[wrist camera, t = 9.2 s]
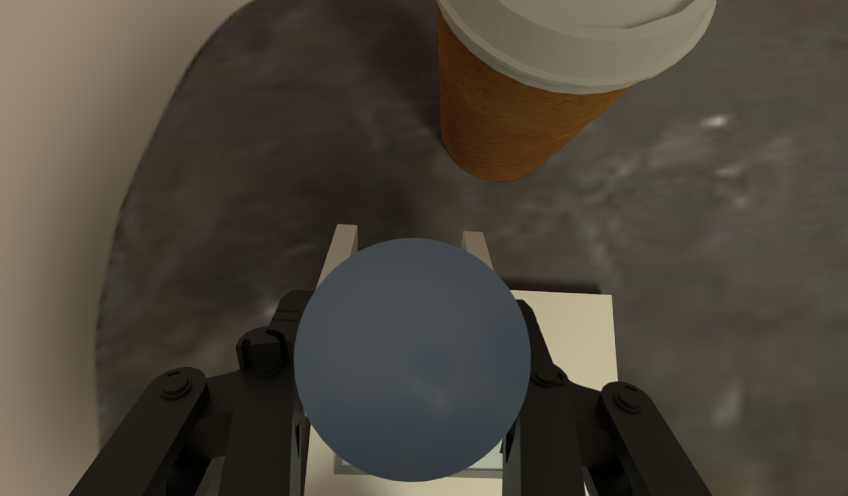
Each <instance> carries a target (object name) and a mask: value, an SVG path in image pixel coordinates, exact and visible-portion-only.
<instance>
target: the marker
mask: <svg viewBox="0 0 848 496" xmlns="http://www.w3.org/2000/svg"><path fill="white" fill-rule="evenodd" d="M530 367H531V352H530V341H529V336H528V331H527V326H526V323H525V320H524V317H523V315H522V312H521V310H520V308H519V305H518V303H517V301H516V299H515V297H514V296H513V294H512V293H511V291H510V290H509V288H508V287H507V285H506V284H505V283H504V282H503V280H502V279H501V278H500V277H499V276H498V275H497V274H496V273H495V272H494V271H493V270H492V269H491V268H490V267H489V266H488V265H487V264H486V263H484V262H483V261H481V260H480V259H479V258H477V257H476V256H474V255H472V254H471V253H469V252H467V251H465V250H463V249H461V248H459V247H456V246H454V245H451V244H449V243H445V242H441V241H437V240H432V239H424V238H402V239H394V240H389V241H385V242H381V243H377V244H375V245H372V246H370V247H367V248H365V249H362V250H361V251H359V252H357V253H355V254H353V255H352V256H350V257H349V258H347V259H346V260H345V261H343V262H342V263H340V264H339V265H338V266H337V267H336V268H335V269H334V270H333V271H331V272H330V273H329V274H328V275H327V276H326V278H325V279H324V280H323V281H322V282H321V284H320V285H319V286H318V287H317V289H316V290H315V292H314V294H313V295H312V297H311V298H310V300H309V302H308V304H307V306H306V308H305V311H304V313H303V315H302V318H301V321H300V324H299V327H298V331H297V336H296V342H295V350H294V371H295V381H296V385H297V390H298V395H299V398H300V400H301V403H302V406H303V409H304V411H305V413H306V415H307V417H308V419H309V421H310V423H311V425H312V426H313V428H314V429H315V431H316V432H317V433H318V435H319V436H320V438H321V439H322V440H323V441H324V442H325V443H326V444H327V445H328V447H329V448H330V449H331V450H332V451H333V452H335V453H336V454H337V455H338V456H339V457H341V458H342V459H343V460H344V461H346V462H347V463H349V464H351V465H352V466H354V467H356V468H357V469H359V470H361V471H363V472H366V473H368V474H371V475H373V476H376V477H380V478H384V479H388V480H392V481H401V482H426V481H431V480H436V479H441V478H444V477H447V476H450V475H453V474H456V473H458V472H460V471H462V470H464V469H466V468H468V467H470V466H472V465H473V464H475V463H476V462H478V461H479V460H480V459H482V458H483V457H485V456H486V455H487V454H488V453H489V452H490V451H491V450H492V449H493V448H495V447H496V446H497V445H498V444H499V442H500V441H501V440H502V439H503V437H504V436H505V435H506V434H507V433H508V431H509V429H510V428H511V426H512V425H513V423H514V421H515V420H516V418H517V416H518V414H519V411H520V409H521V407H522V405H523V402H524V399H525V395H526V392H527V389H528V383H529V377H530Z"/></svg>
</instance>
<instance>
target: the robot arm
mask: <svg viewBox="0 0 848 496" xmlns="http://www.w3.org/2000/svg"><path fill="white" fill-rule="evenodd" d="M461 249H463V250H465V251H467V252H469V253H471V254H472V255H474V256H476V257H477V258H479V259H480V260H481V261H483V262H484V263H486V264H487V265H488V266H489V267H490V268H491V269H492V270H493V266H492V263H491V259H490V256H489V252H488V249H487V246H486V242H485V239H484V235H483V232H472V231H463V236H462V244H461ZM357 252H358V225H344V224H337V227H336V230H335V233H334V236H333V239H332V242H331V245H330V248H329V251H328V254H327V257H326V260H325V263H324V266H323V269H322V272H321V275H320V278H319V281H318V284H317V287H318V286H319V285H320V284H321V282H322V281H323V280H324V279H325V278H326V276H327V275H328V274H329V273H330V272H331V271H333V270H334V269H335V268H336V267H337V266H338V265H339V264H340V263H342V262H343V261H345V260H346V259H347V258H349V257H350V256H352V255H353V254H355V253H357ZM493 271H494V270H493ZM317 287H316V289H317ZM314 292H315V291H305V290H291V291H290V292H289V293H287V294H286V295H285V296H284V297H283V298H282V299H281V300H280V302H279V305H278V307H277V309H276V312H275V314H274V316H273V318H272V321H271V323H270V325H269V326H266V327H261V328H256V329H254V330H252V331H250V332H247V333H246V334H245V335H243V336H242V337H241V338H240V339H239V341H238V343H237V345H236V351H237V356H238V361H239V366H240V369H239V370H237V371H235V372H232V373H229V374H225V375H220V376H215V377H210V378H206V377H205V374H204V373H203V372H202V371H200V370H199V369H196V368H192V367H183V368H176V369H173V370H170V371H167V372H165V373H164V374H162V375H160V376H159V377H157V378H156V379H155V380H154V381H153V382H152V383H151V384H150V385H149V386H148V387H147V388H146V390H145V391H144V393H143V394H142V395H141V397H140V398H139V399H138V401H137V402H136V404H135V405H134V406H133V408H132V409H131V410H130V412H129V413H128V415H127V416H126V417H125V419H124V420H123V421H122V423H121V424H120V426H119V427H118V428H117V430H116V431H115V432H114V434H113V435H112V437H111V438H110V439H109V441H108V442H107V443H106V445H105V446H104V448H103V449H102V450H101V452H100V453H99V455H98V456H97V457H96V459H95V460H94V461H93V463H92V464H91V466H90V467H89V468H88V470H87V471H86V472H85V474H84V475H83V477H82V478H81V479H80V481H79V482H78V483H77V485H76V486H75V488H74V489H73V490H72V492H71V493H70V494H69V496H204V494H205V492H206V489H207V487H208V485H209V483H210V481H211V479H212V476H213V474H214V472H215V470H216V468H217V465H218V463H219V461H220V459H221V457H222V456H224V455H225V460H224V466H223V472H222V478H221V483H220V489H219V495H218V496H300V480H301V424H300V418H301V414H302V410H303V406H302V403H301V400H300V398H299V395H298V390H297V385H296V381H295V371H294V350H295V342H296V336H297V331H298V327H299V324H300V321H301V318H302V315H303V313H304V311H305V308H306V306H307V304H308V302H309V300H310V298H311V297H312V295H313V294H314ZM516 301H517V303H518V305H519V308H520V310H521V312H522V315H523V317H524V320H525V323H526V326H527V331H528V336H529V341H530V352H531V367H530V377H529V383H528V389H527V392H526V395H525V399H524V402H523V405H522V407H521V409H520V411H519V414H518V416H517V418H516V420H515V421H514V423H513V425H512V426H511V428H510V429H509V431H508V433H507V434H506V435H505V436H504V437H503V440H502V444H501V448H500V452H499V453H501V454H503V473H502V496H586V493H585V486H586V489H587V491H588V494H589V496H712V495H711V493H710V492H709V490H708V488H707V487H706V485H705V484H704V482H703V481H702V479H701V477H700V476H699V474H698V473H697V471H696V469H695V468H694V466H693V465H692V463H691V461H690V460H689V458H688V457H687V455H686V454H685V452H684V450H683V449H682V447H681V446H680V444H679V442H678V441H677V439H676V438H675V436H674V434H673V433H672V431H671V430H670V428H669V427H668V425H667V423H666V422H665V420H664V419H663V417H662V415H661V414H660V412H659V411H658V409H657V408H656V406H655V404H654V403H653V401H652V400H651V399H650V398H649V397H648V395H647V394H646V393H644V392H643V391H642V390H640V389H639V388H637V387H635V386H633V385H631V384H628V383H625V382H618V381H615V382H609V383H607V384H606V385H605V386H603V388H602V390H601V391H598V390H595V389H591V388H588V387H584V386H581V385H578V384H576V383H573V382H572V381H570V380H569V379H568V376H567V374H566V373H565V372H564V371H563V370H562V369H561V368H560V367H558V366H557V365H555V364H553V361H552V358H551V356H550V353H549V350H548V348H547V345H546V343H545V340H544V337H543V335H542V332H541V331H540V327H539V324H538V322H537V319H536V316H535V314H534V311H533V309H532V308H531V307H530V306H529V305H528V304H527V303H526V302H525V301H524V300H522V299H516ZM304 412H305V411H304ZM305 417H307V415H306V413H305ZM584 483H585V486H584Z"/></svg>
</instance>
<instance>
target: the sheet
mask: <svg viewBox="0 0 848 496" xmlns="http://www.w3.org/2000/svg"><path fill="white" fill-rule="evenodd" d="M510 291H511V293H512V294H513V296H514V297H515V299H522V300H524V301H525V302H526V303H527V304H528V305H529V306H530V307H531V308H532V309H533V311H534V314H535V316H536V319H537V322H538V324H539V327H540V331H541V332H542V335H543V337H544V340H545V343H546V345H547V348H548V350H549V353H550V356H551V358H552V361H553V364H555V365H557V366H558V367H560V368H561V369H562V370H563V371H564V372H565V373H566V374H567V376H568V379H569V380H570V381H572V382H573V383H576V384H578V385H581V386H584V387H588V388H591V389H595V390H598V391H601V390H602V388H603V386H605V385H606V384H607V383H609V382H615V381H618V379H617V365H616V351H615V338H614V324H613V310H612V296H611V295H598V294H578V293H558V292H538V291H518V290H510ZM502 440H503V439H502ZM502 440H501V441H500V442H499V444H498V445H497V446H496V447H495V448H493V449H492V450H491V451H490V452H489V453H488V454H487V455H486V456H485V457H483V458H482V459H480V460H479V461H478V462H476V463H475V464H473V465H472V466H470V467H468V468H466V469H464V470H462V471H460V472H458V473H456V474H453V475H450V476H447V477H444V478H441V479H436V480H431V481H426V482H401V481H392V480H388V479H384V478H380V477H376V476H373V475H371V474H368V473H366V472H363V471H361V470H359V469H357V468H356V467H354V466H352V465H351V464H349V463H347V462H346V461H344V460H343V459H342V458H341V457H339V456H338V455H337V454H336V453H335V452H333V451H332V450H331V449H330V448H329V447H328V445H327V444H326V443H325V442H324V441H323V440H322V439H321V438H320V436H319V435H318V433H317V432H316V431H315V429H314V428H313V426H312V425H311V429H310V439H309V449H308V459H307V470H306V480H305V490H304V496H502V473H503V454H501V453H499V452H500V448H501V444H502ZM584 486H585V483H584ZM585 493H586V496H589V494H588V491H587V489H586V486H585Z"/></svg>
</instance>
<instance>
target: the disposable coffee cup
mask: <svg viewBox="0 0 848 496" xmlns="http://www.w3.org/2000/svg"><path fill="white" fill-rule="evenodd" d="M715 5H716V0H437V27H438V62H439V92H440V125H441V134H442V139H443V142H444V145H445V147H446V149H447V151H448V153H449V154H450V156H451V157H452V158H453V159H454V161H455V162H456V163H457V164H458V165H459V166H460V167H462V168H463V169H464V170H465V171H467V172H469V173H471V174H472V175H474V176H476V177H479V178H482V179H486V180H490V181H498V182H500V181H512V180H515V179H519V178H522V177H524V176H526V175H528V174H530V173H532V172H533V171H534V170H536V169H537V168H538V167H539V166H540V165H541V164H542V163H543V162H545V161H546V160H547V159H548V158H549V157H550V156H552V155H553V154H554V153H555V152H556V151H557V150H559V149H560V148H561V147H562V146H563V145H564V144H566V143H567V142H568V141H569V140H570V139H571V138H573V137H574V136H575V135H576V134H577V133H578V132H580V131H581V130H582V129H583V128H584V127H585V126H587V125H588V124H589V123H590V122H591V121H592V120H594V119H595V118H596V117H597V116H598V115H600V114H601V113H602V112H603V111H604V110H605V109H606V108H608V107H609V106H610V105H611V104H612V103H613V102H614V101H615V100H617V99H618V98H619V97H620V96H621V95H623V94H624V93H625V92H626V91H627V90H628V89H629V88H631V87H632V86H633V85H634V84H635V83H638V82H640V81H642V80H646V79H649V78H652V77H654V76H656V75H658V74H659V73H661V72H662V71H664V70H666V69H667V68H669V67H670V66H672V65H674V64H675V63H677V62H678V61H679V60H680V59H681V58H683V57H684V56H685V55H686V54H687V53H688V52H689V51H690V50H691V49H693V48H694V46H695V45H696V43H697V42H698V41H699V39H700V38H701V37H702V35H703V34H704V32H705V31H706V29H707V27H708V25H709V22H710V20H711V17H712V15H713V13H714V10H715Z"/></svg>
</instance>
